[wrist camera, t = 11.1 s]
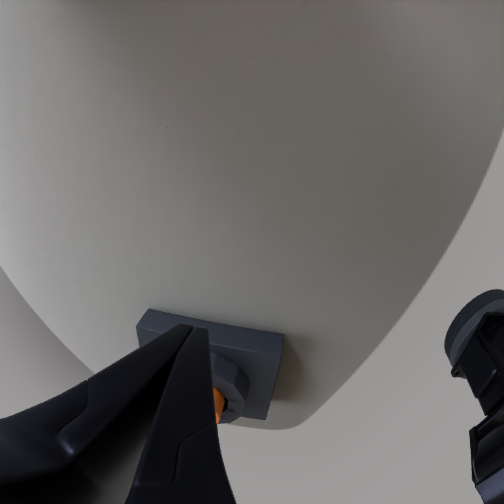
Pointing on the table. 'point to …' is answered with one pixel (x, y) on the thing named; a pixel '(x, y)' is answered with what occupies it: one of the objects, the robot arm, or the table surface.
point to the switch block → (230, 362)
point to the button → (218, 403)
